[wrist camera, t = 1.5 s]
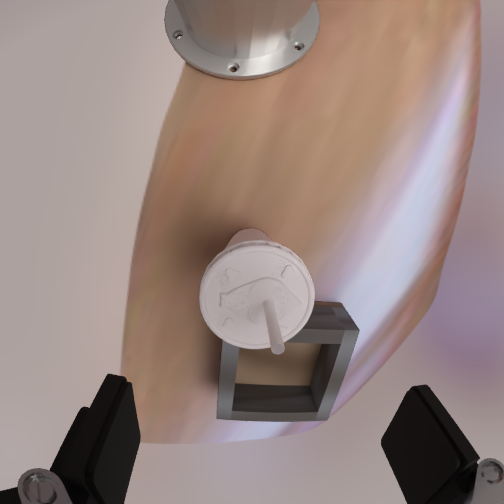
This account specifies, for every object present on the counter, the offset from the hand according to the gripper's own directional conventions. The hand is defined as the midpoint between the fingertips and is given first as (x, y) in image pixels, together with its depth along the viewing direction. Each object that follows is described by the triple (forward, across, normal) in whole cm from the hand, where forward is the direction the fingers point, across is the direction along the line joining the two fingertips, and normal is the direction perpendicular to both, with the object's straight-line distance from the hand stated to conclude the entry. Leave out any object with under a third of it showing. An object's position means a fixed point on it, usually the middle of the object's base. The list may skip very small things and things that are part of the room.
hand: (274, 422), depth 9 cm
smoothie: (+18, 0, -1) cm, 18 cm away
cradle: (+18, -4, +9) cm, 20 cm away
